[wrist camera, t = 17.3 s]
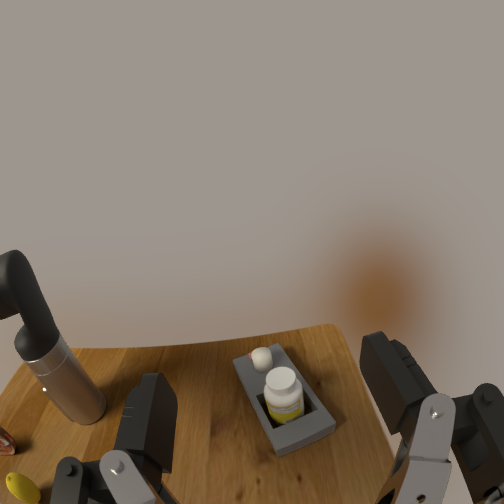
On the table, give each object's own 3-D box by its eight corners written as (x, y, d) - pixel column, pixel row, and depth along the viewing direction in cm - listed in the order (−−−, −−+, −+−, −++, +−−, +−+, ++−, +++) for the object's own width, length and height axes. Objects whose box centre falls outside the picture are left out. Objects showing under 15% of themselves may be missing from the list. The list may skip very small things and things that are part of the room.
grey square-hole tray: (278, 457, 29) (273, 442, 27) (235, 370, 47) (228, 348, 45) (334, 431, 32) (337, 412, 29) (279, 353, 49) (276, 330, 47)
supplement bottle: (279, 396, 40) (272, 358, 36) (309, 405, 37) (308, 367, 33) (263, 420, 36) (253, 386, 32) (295, 431, 33) (291, 398, 29)
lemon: (33, 482, 20) (3, 460, 16) (52, 492, 19) (20, 472, 16) (27, 502, 15) (-5, 482, 11) (45, 514, 14) (11, 496, 11)
